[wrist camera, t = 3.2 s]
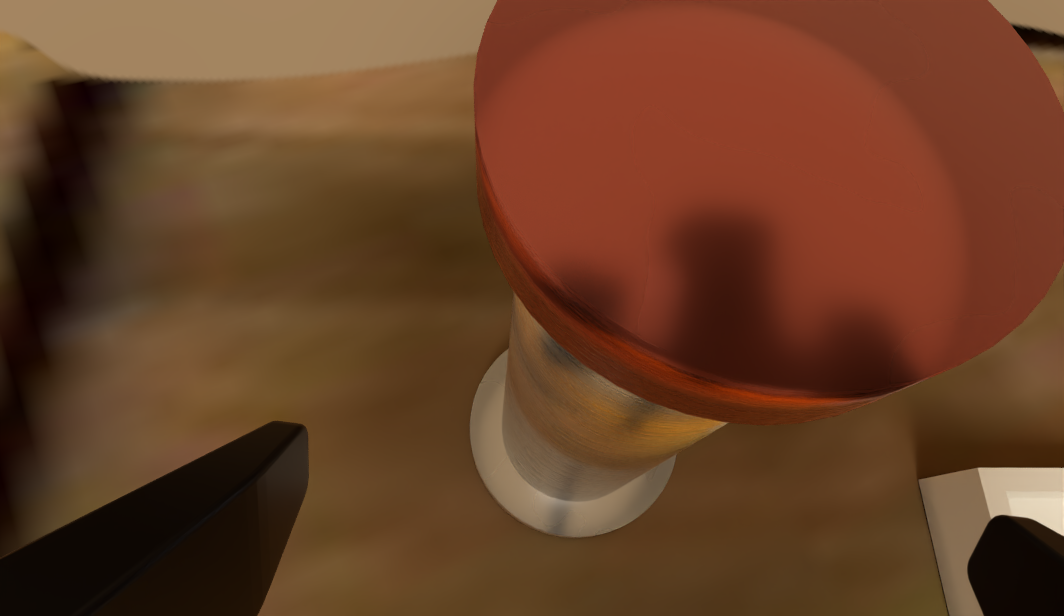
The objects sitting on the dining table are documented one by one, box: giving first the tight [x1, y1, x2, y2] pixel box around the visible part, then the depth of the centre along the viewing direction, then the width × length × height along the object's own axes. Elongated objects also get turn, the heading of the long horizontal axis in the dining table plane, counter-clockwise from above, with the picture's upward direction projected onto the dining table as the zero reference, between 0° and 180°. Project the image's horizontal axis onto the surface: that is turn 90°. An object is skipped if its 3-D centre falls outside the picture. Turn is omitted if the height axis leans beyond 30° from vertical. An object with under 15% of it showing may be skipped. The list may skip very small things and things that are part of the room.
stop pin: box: [470, 0, 1064, 538], centre depth 12 cm, size 6×6×15 cm
